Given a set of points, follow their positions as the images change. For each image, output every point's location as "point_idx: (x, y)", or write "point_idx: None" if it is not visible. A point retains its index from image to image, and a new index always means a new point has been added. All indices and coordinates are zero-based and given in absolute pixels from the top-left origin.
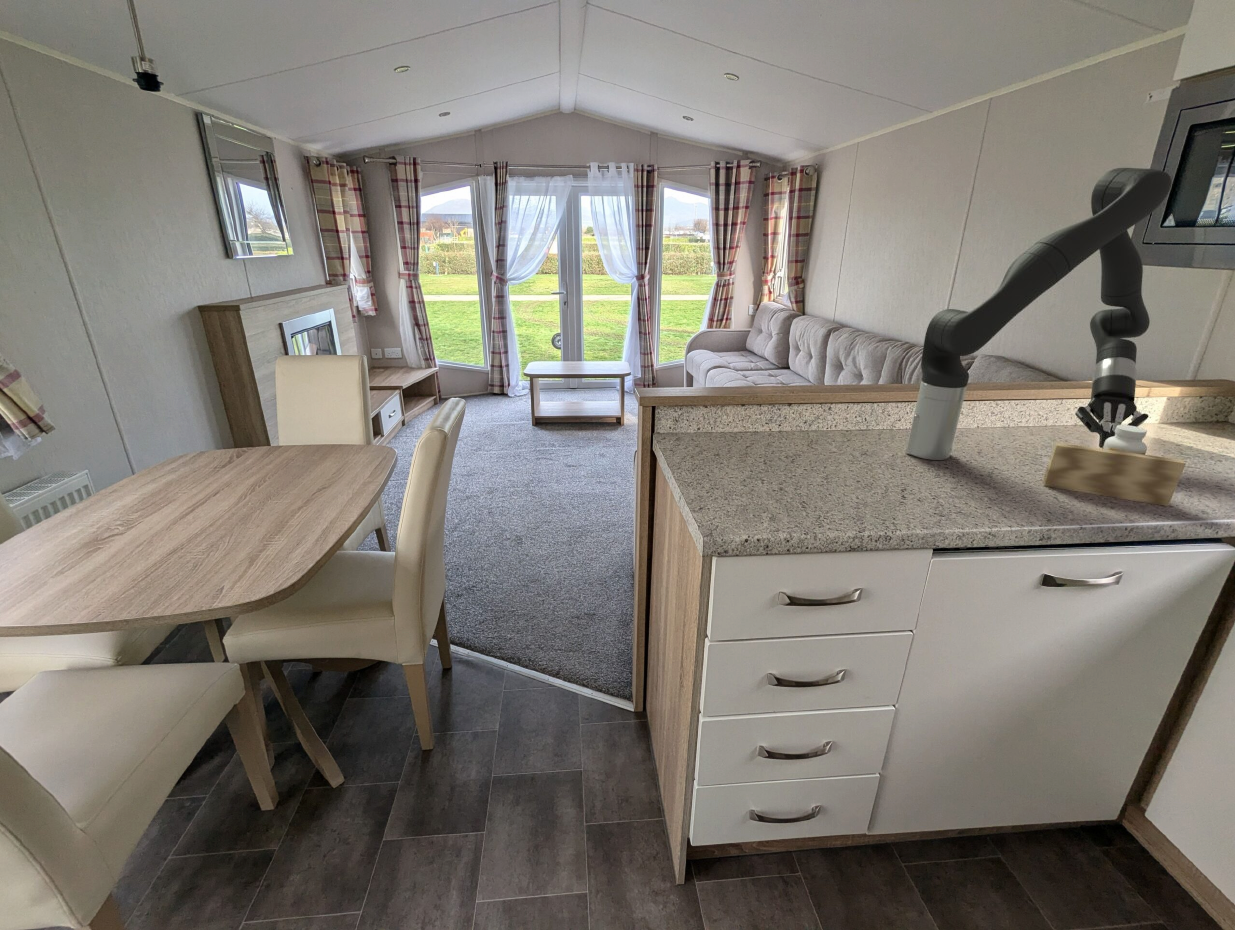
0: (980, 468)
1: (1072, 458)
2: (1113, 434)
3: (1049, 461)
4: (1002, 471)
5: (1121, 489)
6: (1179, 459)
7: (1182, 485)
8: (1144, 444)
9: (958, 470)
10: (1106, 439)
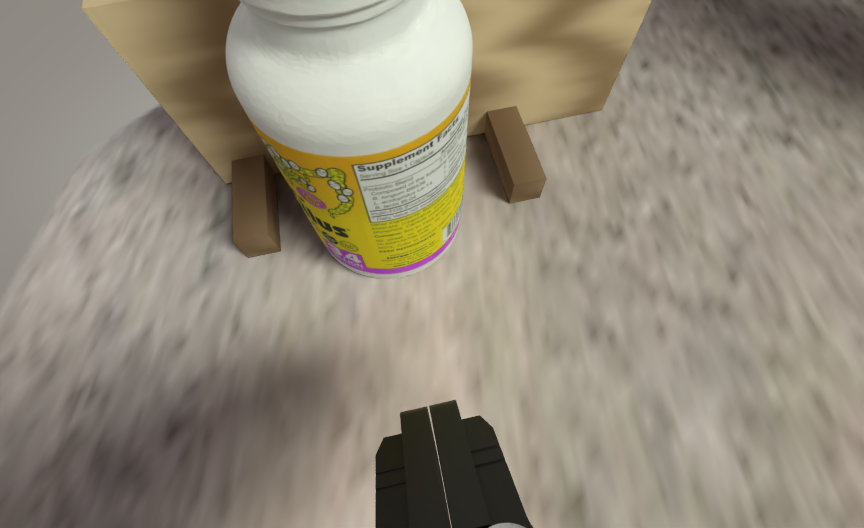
0: (822, 105)
1: None
2: (421, 515)
3: (638, 20)
4: (752, 125)
5: None
6: (96, 6)
7: (74, 477)
8: (241, 4)
9: (853, 44)
10: (468, 36)
